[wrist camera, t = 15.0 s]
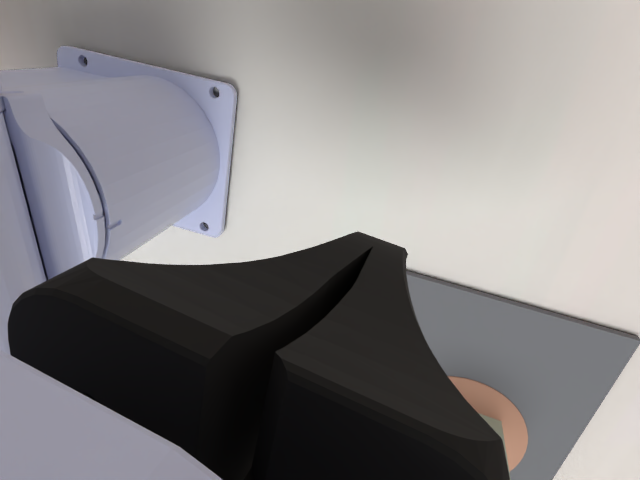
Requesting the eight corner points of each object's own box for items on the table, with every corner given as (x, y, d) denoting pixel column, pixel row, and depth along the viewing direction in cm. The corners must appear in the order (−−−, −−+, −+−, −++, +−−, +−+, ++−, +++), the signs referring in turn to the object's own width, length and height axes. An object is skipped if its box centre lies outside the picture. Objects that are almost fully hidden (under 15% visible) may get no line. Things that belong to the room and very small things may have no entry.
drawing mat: (323, 488, 30) (322, 495, 30) (389, 265, 23) (388, 269, 22) (499, 553, 29) (500, 561, 28) (637, 336, 21) (642, 342, 20)
